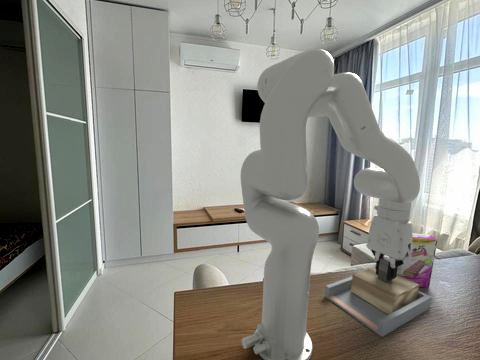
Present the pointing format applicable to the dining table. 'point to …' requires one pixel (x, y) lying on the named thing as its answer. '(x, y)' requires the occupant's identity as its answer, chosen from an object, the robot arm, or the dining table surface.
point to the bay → (374, 308)
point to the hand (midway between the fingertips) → (385, 275)
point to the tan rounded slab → (384, 288)
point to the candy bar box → (420, 260)
